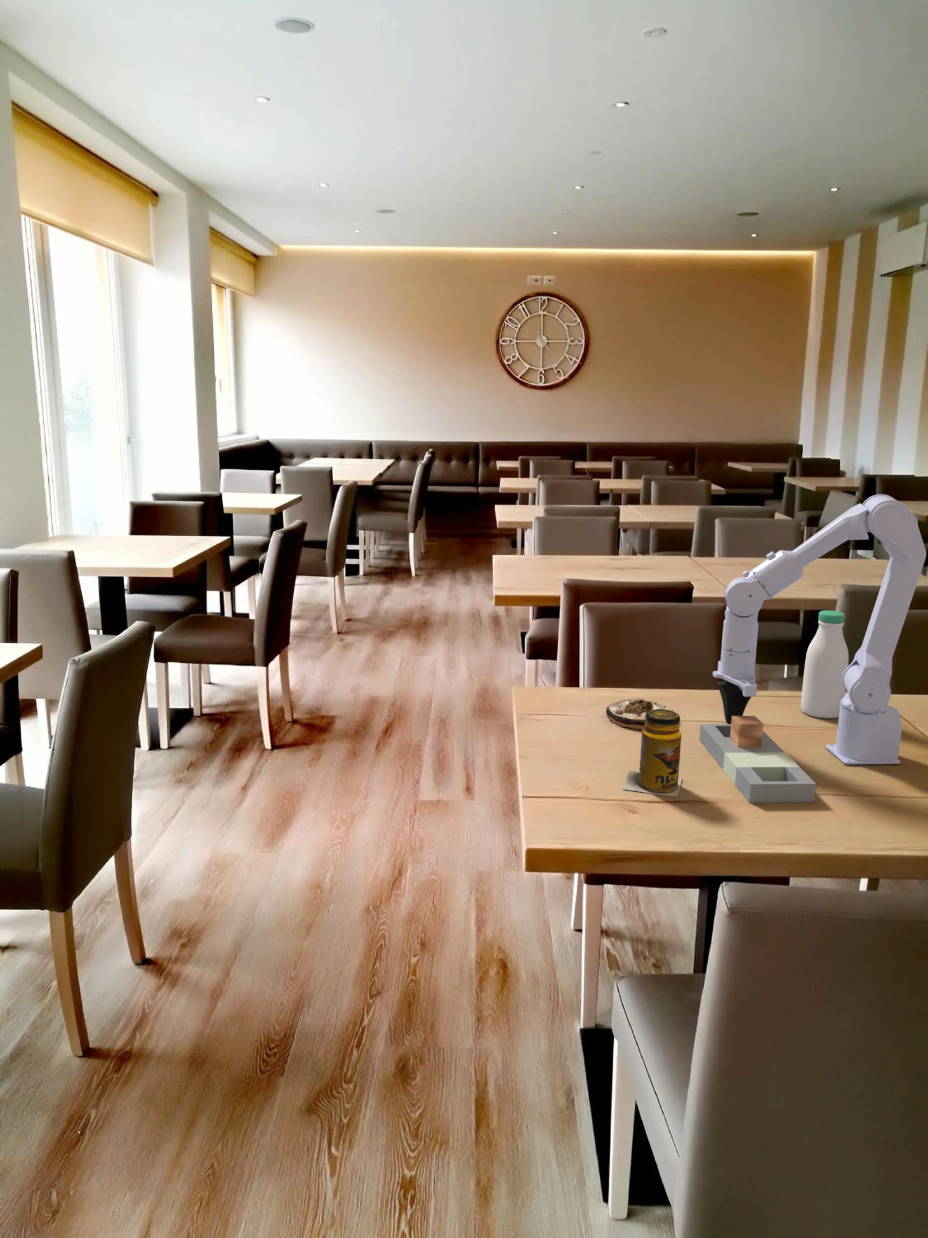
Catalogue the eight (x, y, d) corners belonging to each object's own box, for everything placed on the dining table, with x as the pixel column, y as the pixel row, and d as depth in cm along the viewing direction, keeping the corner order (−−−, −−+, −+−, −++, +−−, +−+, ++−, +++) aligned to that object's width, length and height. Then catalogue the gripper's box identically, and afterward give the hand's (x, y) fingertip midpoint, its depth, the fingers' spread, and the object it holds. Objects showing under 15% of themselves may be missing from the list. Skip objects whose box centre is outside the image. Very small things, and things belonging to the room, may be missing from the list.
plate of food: (628, 740, 167) (629, 717, 166) (586, 714, 181) (586, 693, 180) (696, 729, 173) (698, 708, 172) (650, 704, 186) (651, 684, 185)
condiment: (677, 798, 143) (683, 723, 140) (622, 790, 145) (626, 717, 142) (681, 779, 150) (687, 708, 147) (628, 772, 152) (632, 702, 149)
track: (754, 739, 167) (756, 723, 166) (814, 802, 142) (816, 783, 141) (699, 740, 166) (700, 724, 166) (749, 802, 141) (750, 784, 140)
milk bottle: (848, 720, 177) (860, 617, 173) (808, 719, 178) (818, 616, 173) (833, 706, 185) (844, 608, 180) (794, 706, 185) (804, 607, 180)
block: (753, 738, 159) (755, 715, 158) (761, 746, 155) (763, 724, 154) (729, 738, 159) (731, 716, 158) (737, 747, 155) (739, 724, 154)
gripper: (703, 637, 167) (698, 709, 171) (729, 660, 153) (722, 738, 156) (742, 637, 168) (736, 709, 171) (771, 660, 154) (764, 738, 157)
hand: (732, 723), depth 164 cm, fingers closed
